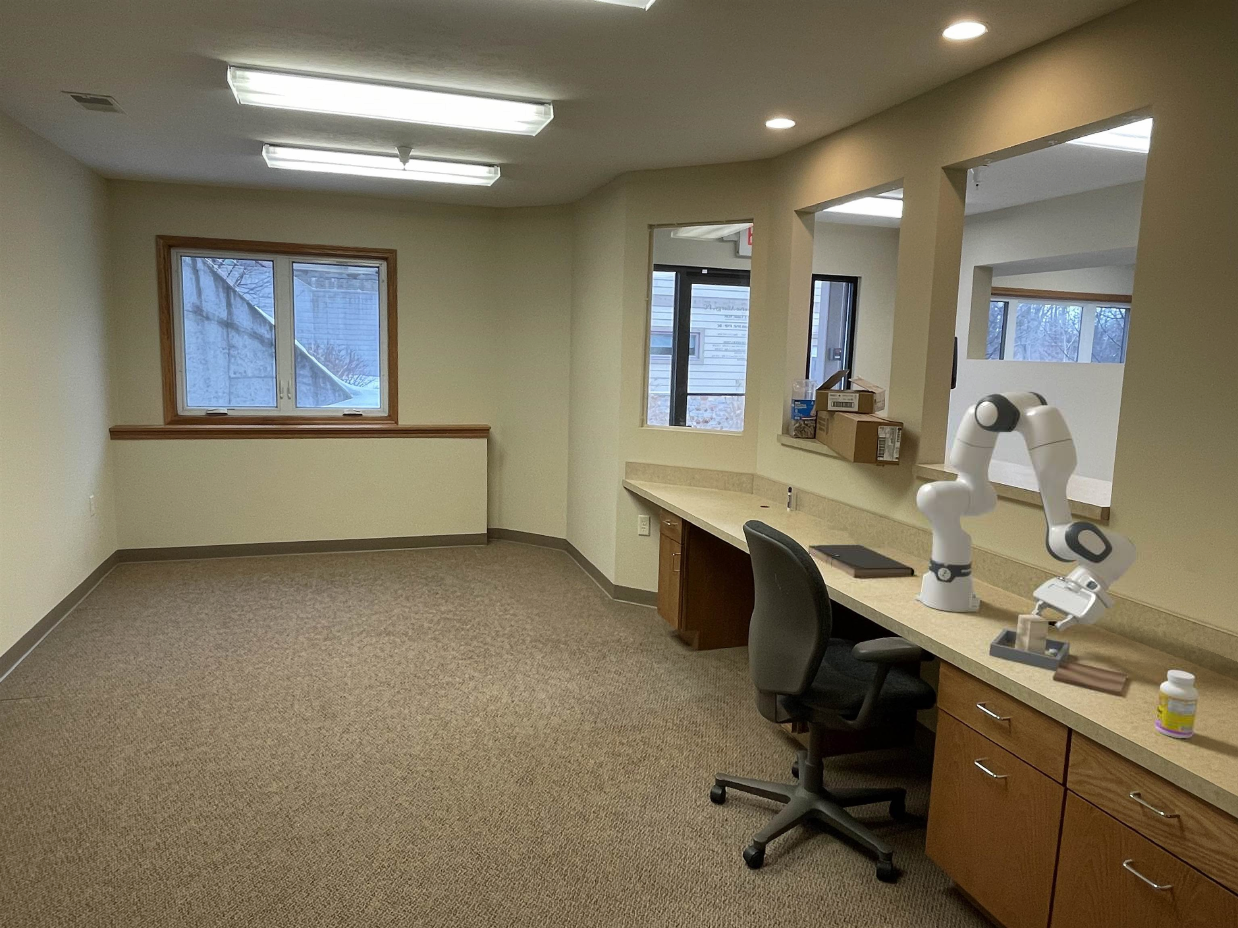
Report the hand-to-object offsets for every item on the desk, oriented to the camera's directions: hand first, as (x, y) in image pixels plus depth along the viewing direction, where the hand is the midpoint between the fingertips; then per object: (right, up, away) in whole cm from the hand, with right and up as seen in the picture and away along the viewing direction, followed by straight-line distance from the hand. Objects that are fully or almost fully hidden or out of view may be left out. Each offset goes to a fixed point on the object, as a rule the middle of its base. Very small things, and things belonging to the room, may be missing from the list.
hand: (1045, 622), depth 214 cm
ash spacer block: (-4, -8, +1) cm, 9 cm away
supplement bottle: (+5, -15, -42) cm, 45 cm away
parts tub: (-4, -8, +1) cm, 9 cm away
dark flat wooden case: (-23, +4, +87) cm, 90 cm away
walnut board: (+3, -11, -14) cm, 18 cm away
